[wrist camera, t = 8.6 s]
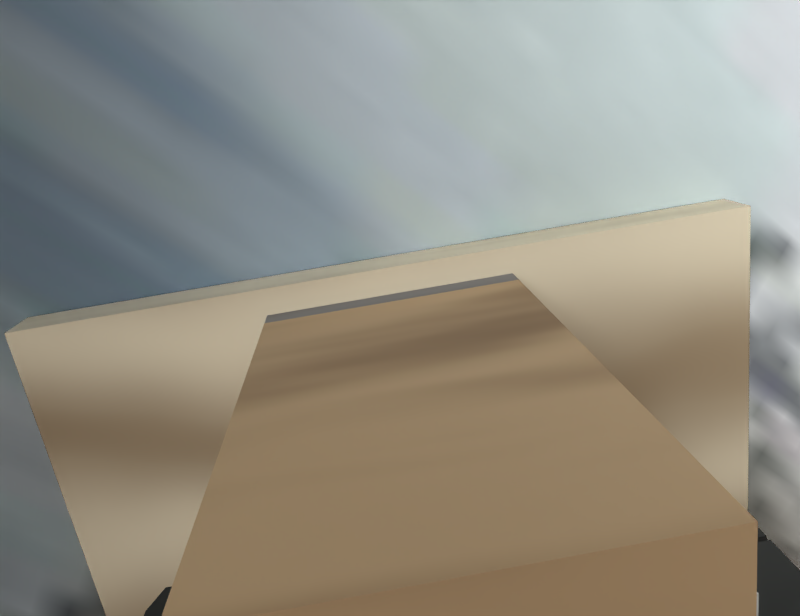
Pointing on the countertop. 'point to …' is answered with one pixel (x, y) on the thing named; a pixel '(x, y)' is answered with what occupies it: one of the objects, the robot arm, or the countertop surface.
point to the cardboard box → (454, 475)
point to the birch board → (256, 298)
